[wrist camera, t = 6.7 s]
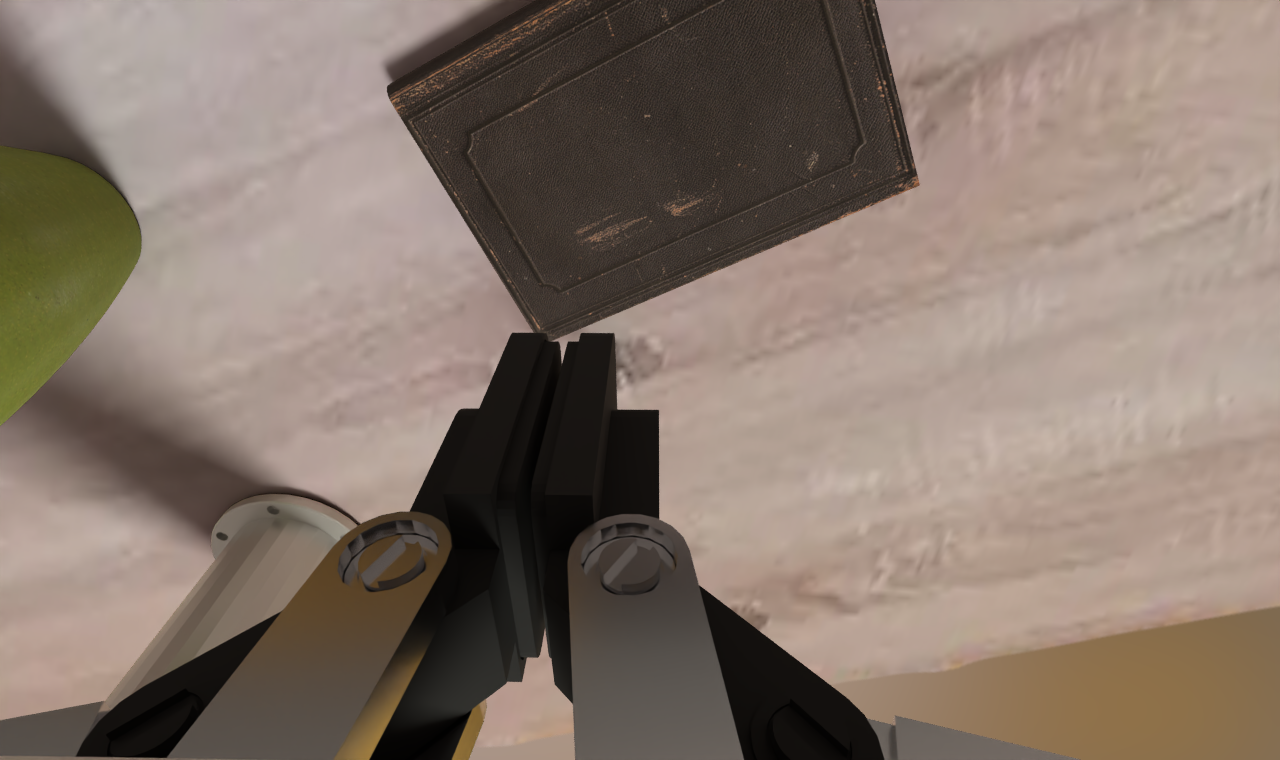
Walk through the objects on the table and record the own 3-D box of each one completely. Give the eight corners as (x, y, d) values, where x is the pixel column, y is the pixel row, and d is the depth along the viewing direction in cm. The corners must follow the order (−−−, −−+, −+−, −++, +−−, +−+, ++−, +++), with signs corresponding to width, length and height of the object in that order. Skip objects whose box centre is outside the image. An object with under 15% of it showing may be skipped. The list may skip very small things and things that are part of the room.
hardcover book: (905, 174, 36) (920, 185, 34) (546, 328, 41) (541, 345, 39) (821, -161, 28) (833, -172, 26) (397, 81, 34) (381, 87, 32)
